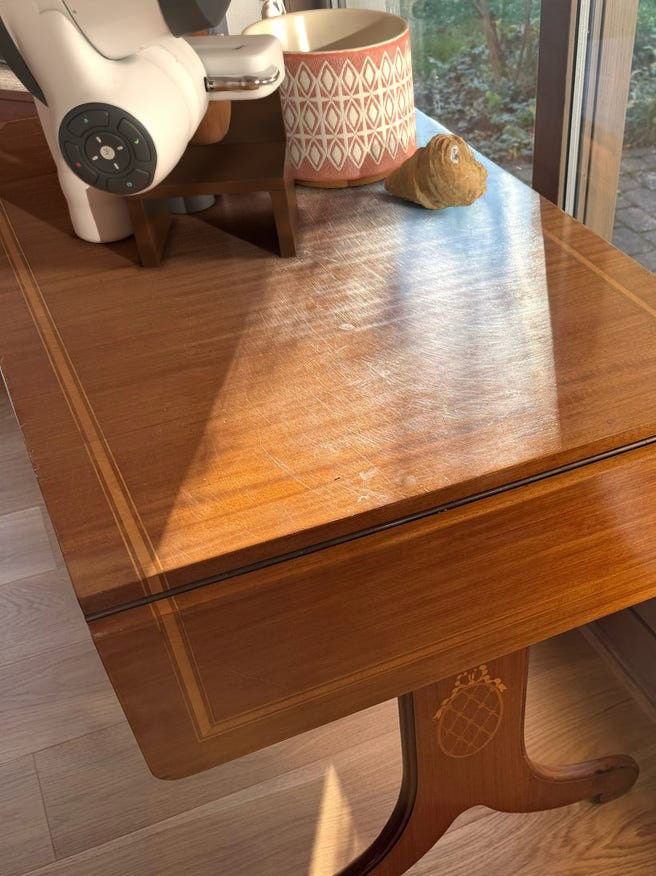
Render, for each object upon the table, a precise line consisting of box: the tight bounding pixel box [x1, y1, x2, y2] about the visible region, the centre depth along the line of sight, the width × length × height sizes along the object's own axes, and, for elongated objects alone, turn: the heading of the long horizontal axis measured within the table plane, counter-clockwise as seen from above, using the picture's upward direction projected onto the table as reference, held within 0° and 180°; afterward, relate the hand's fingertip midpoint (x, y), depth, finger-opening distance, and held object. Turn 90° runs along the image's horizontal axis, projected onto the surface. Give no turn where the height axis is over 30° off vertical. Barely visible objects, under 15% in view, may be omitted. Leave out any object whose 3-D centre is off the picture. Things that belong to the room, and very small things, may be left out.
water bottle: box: [32, 94, 134, 244], centre depth 100 cm, size 7×7×25 cm
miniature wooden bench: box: [124, 86, 300, 268], centre depth 103 cm, size 16×12×13 cm
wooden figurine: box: [184, 29, 231, 145], centre depth 93 cm, size 7×6×15 cm
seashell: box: [383, 132, 489, 211], centre depth 110 cm, size 14×8×8 cm
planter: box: [240, 7, 418, 189], centre depth 117 cm, size 19×19×15 cm
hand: (185, 44), depth 94 cm, fingers closed on wooden figurine, 5 cm apart
